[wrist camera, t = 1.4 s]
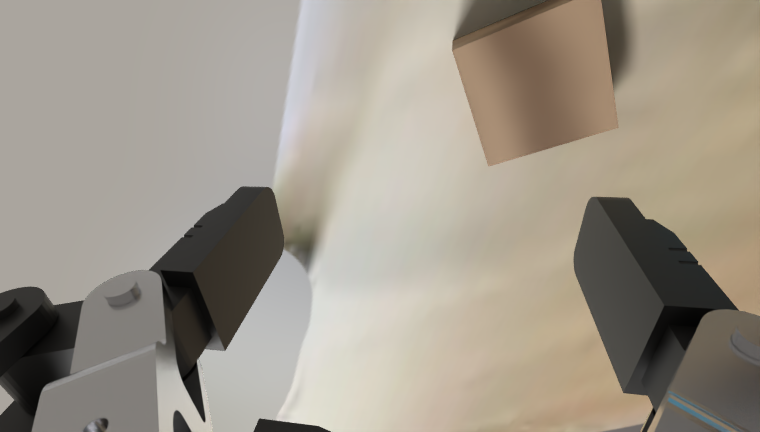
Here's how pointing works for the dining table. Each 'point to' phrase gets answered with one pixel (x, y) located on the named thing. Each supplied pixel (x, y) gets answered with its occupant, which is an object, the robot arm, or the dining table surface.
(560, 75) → the brown wooden block
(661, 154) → the dining table surface
